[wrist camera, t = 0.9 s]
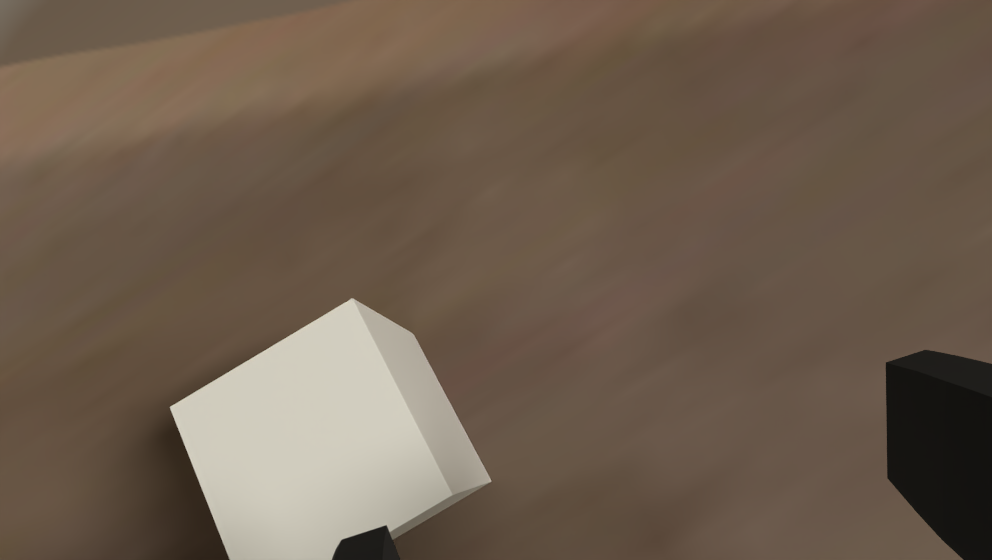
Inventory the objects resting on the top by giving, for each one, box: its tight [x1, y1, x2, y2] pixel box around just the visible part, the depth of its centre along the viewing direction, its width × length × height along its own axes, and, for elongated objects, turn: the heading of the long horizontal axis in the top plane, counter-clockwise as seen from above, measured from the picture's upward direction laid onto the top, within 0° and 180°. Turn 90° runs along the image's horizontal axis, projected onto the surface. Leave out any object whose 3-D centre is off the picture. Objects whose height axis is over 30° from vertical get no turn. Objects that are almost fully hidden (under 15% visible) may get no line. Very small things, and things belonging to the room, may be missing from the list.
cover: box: [170, 298, 492, 560], centre depth 20 cm, size 6×6×6 cm
